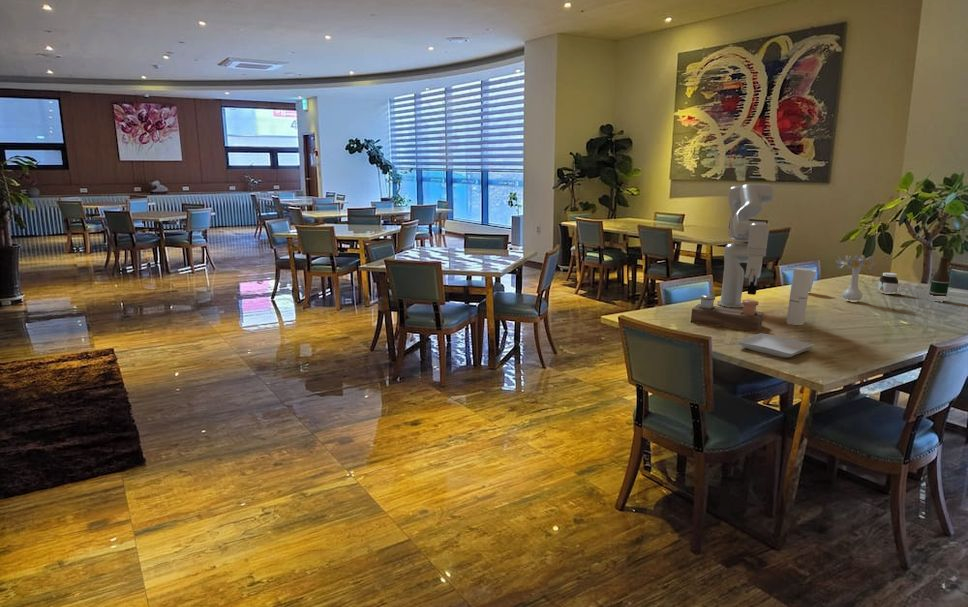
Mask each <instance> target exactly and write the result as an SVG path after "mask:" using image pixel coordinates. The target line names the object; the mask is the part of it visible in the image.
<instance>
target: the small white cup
mask: <svg viewBox="0 0 968 607" xmlns="http://www.w3.org/2000/svg"><path fill="white" fill-rule="evenodd" d="M699 299H700V304H701V305H700V309H708V310H712V309H713V306H714V304H715V303H714V302H715V300H716V296H715V295H713V294H700V295H699Z"/></svg>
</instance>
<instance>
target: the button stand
mask: <svg viewBox="0 0 968 607" xmlns="http://www.w3.org/2000/svg"><path fill="white" fill-rule="evenodd" d="M700 305H701V303H698V304H696V305H695V306H694V307H693V308H691V316H690V322H691V321H692V322H691V323H696V322H698V323H699V324H703V325H704V324H705V325H710V324H711V326H716V325H719V326H718V327H723V326H726V327H725V328H730V327H732V328H731V329H737V330H743V329H744V330H745V331H752V332H757V331H758V332H759V330H760V329H761V327H762V326H763V319H764V312H761V311H756V314H755V316H752V315H745V314H743V309H740V308H739V309H738V308H731V307H724V306H715V305H713V309H712V310H708V309H700ZM698 323H697V324H698Z"/></svg>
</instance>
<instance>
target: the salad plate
mask: <svg viewBox="0 0 968 607" xmlns="http://www.w3.org/2000/svg"><path fill="white" fill-rule="evenodd" d="M736 342H737V344H738V345H740V346H741V347H743V348H745V349H748V350H750V351H753V352H758V353H761V354H766V355H770V356H774V357H779V358H783V359H787V358H791V357H793V356H796V355H798V354H801V353H803V352H807V351H809V350H811V349H812V348H814V347H815V344H814V343H813V344H812V343H809V342H805V341H802V340H797V339H792V338H789V337H788V338H787V337H783V336H779V335H773V334H769V333H768V334H767V333H761V332H760V333H757V334H754V335H752V336H747V337H745V338H743V339H738V341H737V340H736Z"/></svg>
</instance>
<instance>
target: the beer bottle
mask: <svg viewBox="0 0 968 607" xmlns="http://www.w3.org/2000/svg"><path fill="white" fill-rule="evenodd" d="M949 259H950V258H949V257H948V256H941V257H940V261H939V265H938V267H937V268H938V269H937V271H936V272H935V273H934V274H933V276H932V277H931V281H930V288H929V291H928V292H929V293H928V295H929V294H930V295H933V296H946V297H947V296H948V290H949V284H950V275H949V274H948V262H949Z"/></svg>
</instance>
